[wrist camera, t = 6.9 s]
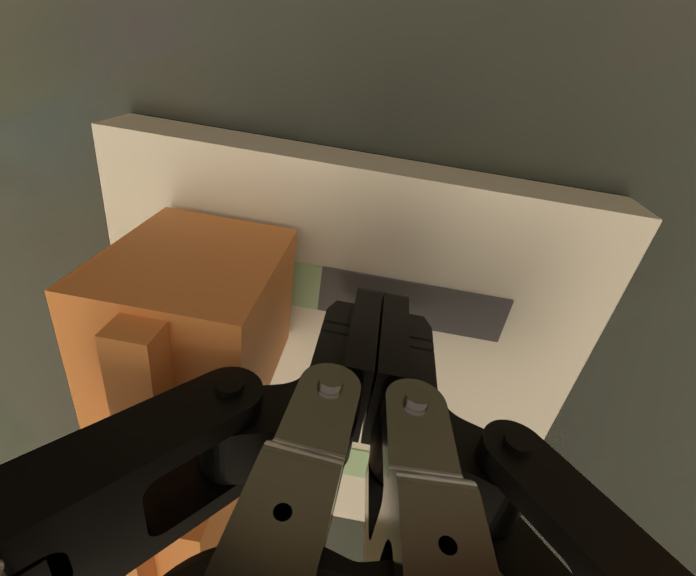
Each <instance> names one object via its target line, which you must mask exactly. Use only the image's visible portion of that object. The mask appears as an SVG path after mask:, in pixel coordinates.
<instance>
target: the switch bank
mask: <svg viewBox="0 0 696 576" xmlns="http://www.w3.org/2000/svg"><path fill="white" fill-rule="evenodd" d="M91 125H92V131H93V138H94V144H95V150H96V156H97V163H98V169H99V175H100V182H101V188H102V194H103V201H104V207H105V213H106V220H107V226H108V232H109V239H110V245H111V244H113V243H114V242H116V241H117V240H118V239H120V238H121V237H123V236H124V235H126V234H127V233H129V232H130V231H132V230H133V229H134V228H136V227H137V226H139V225H140V224H142V223H143V222H145V221H146V220H147V219H149V218H150V217H152V216H153V215H155V214H156V213H158V212H159V211H161V210H162V209H163V208H165V207H169V208H175V209H181V210H186V211H192V212H198V213H204V214H209V215H215V216H221V217H226V218H232V219H238V220H244V221H249V222H255V223H261V224H266V225H272V226H278V227H284V228H289V229H295V230H297V241H296V253H295V265H294V277H293V289H292V301H291V313H290V325H289V337H288V340H287V343H286V345H285V348H284V350H283V353H282V355H281V358H280V360H279V363H278V365H277V368H276V370H275V373H274V375H273V378H272V380H271V383H270V385H276V384H285V383H289V382H292V381H295V380H297V379H299V378H300V377H301V375H302V373H303V372H304V371H305V370H306V369H307V368H309V367H310V364H311V361H312V358H313V354H314V351H315V347H316V344H317V341H318V337H319V334H320V331H321V327H322V324H323V321H324V317H325V314H326V310H327V308H328V307H330V306H331V305H332V304H333V303H334V302H335V301H337V300H338V301H344V302H349V303H354V304H355V299H356V294H357V289H358V287H361V288H366V289H371V290H377V291H382V297H383V294H384V292H388V293H393V294H399V295H404V296H409V314H413V315H419V316H424V317H425V319H426V320H427V322H428V323H429V325H430V326H431V327H432V333H433V344H434V355H435V366H436V377H437V388H438V391H439V392H440V393H441V394H442V395H443V396H444V398H445V400H446V403H447V406H448V409H449V410H450V411H451V412H453V413H454V414H455V415H457V416H458V417H460V418H462V419H464V420H466V421H468V422H470V423H472V424H474V425H477V426H479V427H481V428H483V429H484V428H485V426H486V425H487V424H488V423H490V422H492V421H494V420H500V419H501V420H511V421H515V422H518V423H520V424H522V425H524V426H526V427H528V428H530V429H531V430H533V431H534V432H535V433H536V434H538V435H539V436H540V437H541V438H542V439H543V440H544V438H545V437H546V435H547V433H548V431H549V429H550V427H551V426H552V424H553V422H554V420H555V418H556V416H557V415H558V413H559V411H560V409H561V407H562V405H563V403H564V402H565V400H566V398H567V396H568V394H569V392H570V391H571V389H572V387H573V385H574V383H575V381H576V379H577V378H578V376H579V374H580V372H581V370H582V368H583V367H584V365H585V363H586V361H587V359H588V357H589V355H590V354H591V352H592V350H593V348H594V346H595V344H596V343H597V341H598V339H599V337H600V335H601V333H602V331H603V330H604V328H605V326H606V324H607V322H608V320H609V319H610V317H611V315H612V313H613V311H614V309H615V307H616V306H617V304H618V302H619V300H620V298H621V296H622V295H623V293H624V291H625V289H626V287H627V285H628V283H629V282H630V280H631V278H632V276H633V274H634V272H635V271H636V269H637V267H638V265H639V263H640V261H641V259H642V258H643V256H644V254H645V252H646V250H647V248H648V247H649V245H650V243H651V241H652V239H653V237H654V235H655V234H656V232H657V230H658V228H659V226H660V224H661V223H662V221H663V220H662V219H661V218H659V217H658V216H656V215H655V214H653V213H652V212H651V211H649V210H648V209H646V208H645V207H643V206H642V205H641V204H639V203H638V202H636V201H635V200H633V199H632V198H630V197H627V196H621V195H615V194H609V193H603V192H597V191H591V190H585V189H579V188H573V187H567V186H561V185H555V184H549V183H544V182H538V181H532V180H526V179H520V178H514V177H508V176H502V175H496V174H490V173H484V172H478V171H472V170H466V169H460V168H454V167H448V166H442V165H436V164H430V163H425V162H419V161H413V160H407V159H401V158H395V157H389V156H383V155H377V154H371V153H365V152H359V151H353V150H347V149H341V148H335V147H329V146H323V145H317V144H312V143H306V142H300V141H294V140H288V139H282V138H276V137H270V136H264V135H258V134H252V133H246V132H240V131H234V130H228V129H222V128H216V127H210V126H204V125H198V124H193V123H187V122H181V121H175V120H169V119H163V118H157V117H151V116H145V115H139V114H133V113H129V114H125V115H121V116H117V117H113V118H109V119H106V120H102V121H98V122H94V123H91ZM381 302H382V300H381ZM362 428H363V424H362ZM362 428H361V433H360V437H359V441H358V443H357V442H352V447H351V451H350V456H349V459H348V461H347V463H346V464H345V466H344V470H343V475H342V479H341V483H340V487H339V492H338V496H337V500H336V504H335V508H334V513H333V516H337V517H342V518H347V519H352V520H357V521H363V522H365V471H366V467H367V463H368V460H369V453H370V445H368V444H362V443H361V436H362Z"/></svg>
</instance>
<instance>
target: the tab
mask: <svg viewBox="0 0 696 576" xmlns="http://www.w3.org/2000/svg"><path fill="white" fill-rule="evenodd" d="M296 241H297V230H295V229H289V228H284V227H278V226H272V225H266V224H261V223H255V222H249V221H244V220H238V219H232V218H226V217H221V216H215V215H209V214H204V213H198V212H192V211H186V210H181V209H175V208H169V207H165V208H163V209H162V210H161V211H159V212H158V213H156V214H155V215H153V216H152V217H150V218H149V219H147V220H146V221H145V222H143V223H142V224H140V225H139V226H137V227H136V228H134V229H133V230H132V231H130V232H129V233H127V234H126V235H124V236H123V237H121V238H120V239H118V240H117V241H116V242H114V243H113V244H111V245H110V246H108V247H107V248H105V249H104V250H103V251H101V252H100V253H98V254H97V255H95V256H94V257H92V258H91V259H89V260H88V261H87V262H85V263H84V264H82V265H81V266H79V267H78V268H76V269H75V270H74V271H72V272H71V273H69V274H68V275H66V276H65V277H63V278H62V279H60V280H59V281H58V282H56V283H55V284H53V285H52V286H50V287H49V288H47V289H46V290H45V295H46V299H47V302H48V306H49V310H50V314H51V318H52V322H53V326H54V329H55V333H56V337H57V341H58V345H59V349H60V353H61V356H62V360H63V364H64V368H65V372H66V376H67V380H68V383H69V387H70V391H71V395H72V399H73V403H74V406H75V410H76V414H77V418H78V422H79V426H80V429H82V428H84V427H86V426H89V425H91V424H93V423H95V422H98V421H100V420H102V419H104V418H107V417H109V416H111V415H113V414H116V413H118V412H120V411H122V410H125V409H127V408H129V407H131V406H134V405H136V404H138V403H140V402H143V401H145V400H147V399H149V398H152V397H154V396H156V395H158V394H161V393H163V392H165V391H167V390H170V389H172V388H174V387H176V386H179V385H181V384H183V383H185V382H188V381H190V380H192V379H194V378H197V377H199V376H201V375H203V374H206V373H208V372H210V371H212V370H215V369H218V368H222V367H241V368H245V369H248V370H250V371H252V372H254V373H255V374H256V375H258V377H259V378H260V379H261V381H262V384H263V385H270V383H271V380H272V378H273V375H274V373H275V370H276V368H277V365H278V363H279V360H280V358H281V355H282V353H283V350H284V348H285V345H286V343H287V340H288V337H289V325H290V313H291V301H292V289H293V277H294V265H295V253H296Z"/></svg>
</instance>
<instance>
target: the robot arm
mask: <svg viewBox="0 0 696 576" xmlns="http://www.w3.org/2000/svg"><path fill="white" fill-rule="evenodd" d="M381 300H382V302H381ZM362 424H363V428H362ZM361 428H362V436H361V443H362V444H368V445H370V453H369V460H368V463H367V467H366V471H365V541H364V559H363V562H355V561H352V560H350V559H348V558H346V557H344V556H342V555H340V554H338V553H336V552H334V551H332V550H330V549H328V548H326V542H327V538H328V534H329V530H330V525H331V521H332V517H333V513H334V508H335V504H336V500H337V496H338V492H339V487H340V483H341V479H342V475H343V470H344V466H345V464H346V463H347V461H348V459H349V456H350V451H351V447H352V442H357V443H358V441H359V437H360V433H361ZM237 498H239V499H238V501H237V503H236V505H235V508H234V510H233V512H232V514H231V516H230V519H229V521H228V523H227V525H226V527H225V530H224V532H223V534H222V536H221V538H220V541H219V543H218V545H217V546H216V547H213V548H210V549H208V550H205V551H202V552H200V553H198V554H196V555H194V556H192V557H190V558H188V559H186V560H185V561H183V562H181V563H180V564H178V565H176V566H175V567H174V568H172V569H171V570H169V571H168V572H167V573H165V574H164V575H163V576H694V575H693V574H692V573H691V572H690V571H689V570H688V569H686V568H685V567H684V566H683V565H682V564H681V563H680V562H679V561H678V560H676V559H675V558H674V557H673V556H672V555H671V554H670V553H669V552H668V551H666V550H665V549H664V548H663V547H662V546H661V545H660V544H659V543H658V542H656V541H655V540H654V539H653V538H652V537H651V536H650V535H649V534H648V533H646V532H645V531H644V530H643V529H642V528H641V527H640V526H639V525H638V524H636V523H635V522H634V521H633V520H632V519H631V518H630V517H629V516H628V515H626V514H625V513H624V512H623V511H622V510H621V509H620V508H619V507H618V506H616V505H615V504H614V503H613V502H612V501H611V500H610V499H609V498H608V497H606V496H605V495H604V494H603V493H602V492H601V491H600V490H599V489H598V488H596V487H595V486H594V485H593V484H592V483H591V482H590V481H589V480H588V479H586V478H585V477H584V476H583V475H582V474H581V473H580V472H579V471H578V470H576V469H575V468H574V467H573V466H572V465H571V464H570V463H569V462H568V461H566V460H565V459H564V458H563V457H562V456H561V455H560V454H559V453H558V452H556V451H555V450H554V449H553V448H552V447H551V446H550V445H549V444H548V443H546V442H545V441H544V440H543V439H542V438H541V437H540V436H539V435H538V434H536V433H535V432H534V431H533V430H531V429H530V428H528V427H526V426H524V425H522V424H520V423H518V422H515V421H511V420H501V419H500V420H494V421H492V422H490V423H488V424H487V425H486V426H485V428H484V429H483V428H481V427H479V426H477V425H474V424H472V423H470V422H468V421H466V420H464V419H462V418H460V417H458V416H457V415H455V414H454V413H453V412H451V411H450V410H449V409H448V406H447V403H446V400H445V398H444V396H443V395H442V394H441V393H440V392H439V391H438V388H437V377H436V366H435V355H434V344H433V333H432V327H431V326H430V325H429V323H428V322H427V320H426V319H425V317H424V316H419V315H413V314H409V296H404V295H399V294H393V293H388V292H384V294H383V297H382V291H377V290H371V289H366V288H361V287H358V289H357V294H356V299H355V304H354V303H349V302H344V301H338V300H337V301H335V302H334V303H333V304H332V305H331V306H330V307H328V308H327V310H326V314H325V317H324V321H323V324H322V327H321V331H320V334H319V337H318V341H317V344H316V347H315V351H314V354H313V358H312V361H311V364H310V367H309V368H307V369H306V370H305V371H304V372H303V373H302V375H301V377H300V378H299V379H297V380H295V381H292V382H289V383H285V384H276V385H263V384H262V381H261V379H260V378H259V377H258V375H256V374H255V373H254V372H252V371H250V370H248V369H245V368H241V367H222V368H218V369H215V370H212V371H210V372H208V373H206V374H203V375H201V376H199V377H197V378H194V379H192V380H190V381H188V382H185V383H183V384H181V385H179V386H176V387H174V388H172V389H170V390H167V391H165V392H163V393H161V394H158V395H156V396H154V397H152V398H149V399H147V400H145V401H143V402H140V403H138V404H136V405H134V406H131V407H129V408H127V409H125V410H122V411H120V412H118V413H116V414H113V415H111V416H109V417H107V418H104V419H102V420H100V421H98V422H95V423H93V424H91V425H89V426H86V427H84V428H82V429H80V430H77V431H75V432H73V433H71V434H68V435H66V436H64V437H62V438H59V439H57V440H55V441H53V442H50V443H48V444H46V445H44V446H41V447H39V448H37V449H35V450H32V451H30V452H28V453H26V454H23V455H21V456H19V457H17V458H14V459H12V460H10V461H8V462H5V463H3V464H1V465H0V576H126V575H127V574H129V573H130V572H132V571H133V570H134V569H136V568H137V567H139V566H140V565H142V564H143V563H145V562H146V561H147V560H149V559H150V558H152V557H153V556H155V555H156V554H158V553H159V552H160V551H162V550H163V549H165V548H166V547H168V546H169V545H171V544H172V543H174V542H175V541H176V540H178V539H179V538H181V537H182V536H184V535H185V534H187V533H188V532H189V531H191V530H192V529H194V528H195V527H197V526H198V525H200V524H201V523H202V522H204V521H205V520H207V519H208V518H210V517H211V516H213V515H214V514H216V513H217V512H218V511H220V510H221V509H223V508H224V507H226V506H227V505H229V504H230V503H231V502H233V501H234V500H236V499H237ZM521 515H523V516H524V517H525V518H526V519H527V520H528V521H529V522H530V523H531V524H532V525H533V526H534V528H535V529H536V530H537V531H538V532H539V533H540V534H541V535H542V536H543V537H544V538H545V540H546V541H547V542H548V543H549V544H550V545H551V546H552V547H553V548H554V549H555V550H556V552H557V553H558V554H559V555H560V556H561V557H562V558H563V559H564V560H565V562H566V563H567V564H568V566H569V567H570V569H571V571H572V573H573V574H572V573H571V572H570V571H569V570H568V569H567V568H566V567H565V566H564V565H563V563H562V562H561V561H560V560H559V559H558V558H557V557H556V556H555V555H554V554H553V552H552V551H551V550H550V549H549V548H548V547H547V546H546V545H545V544H544V543H543V541H542V540H541V539H540V538H539V537H538V536H537V535H536V534H535V533H534V532H533V530H532V529H531V528H530V527H529V526H528V525H527V524H526V523H525V522H524V521H523V519H522V518H521V517H520V516H521Z"/></svg>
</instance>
